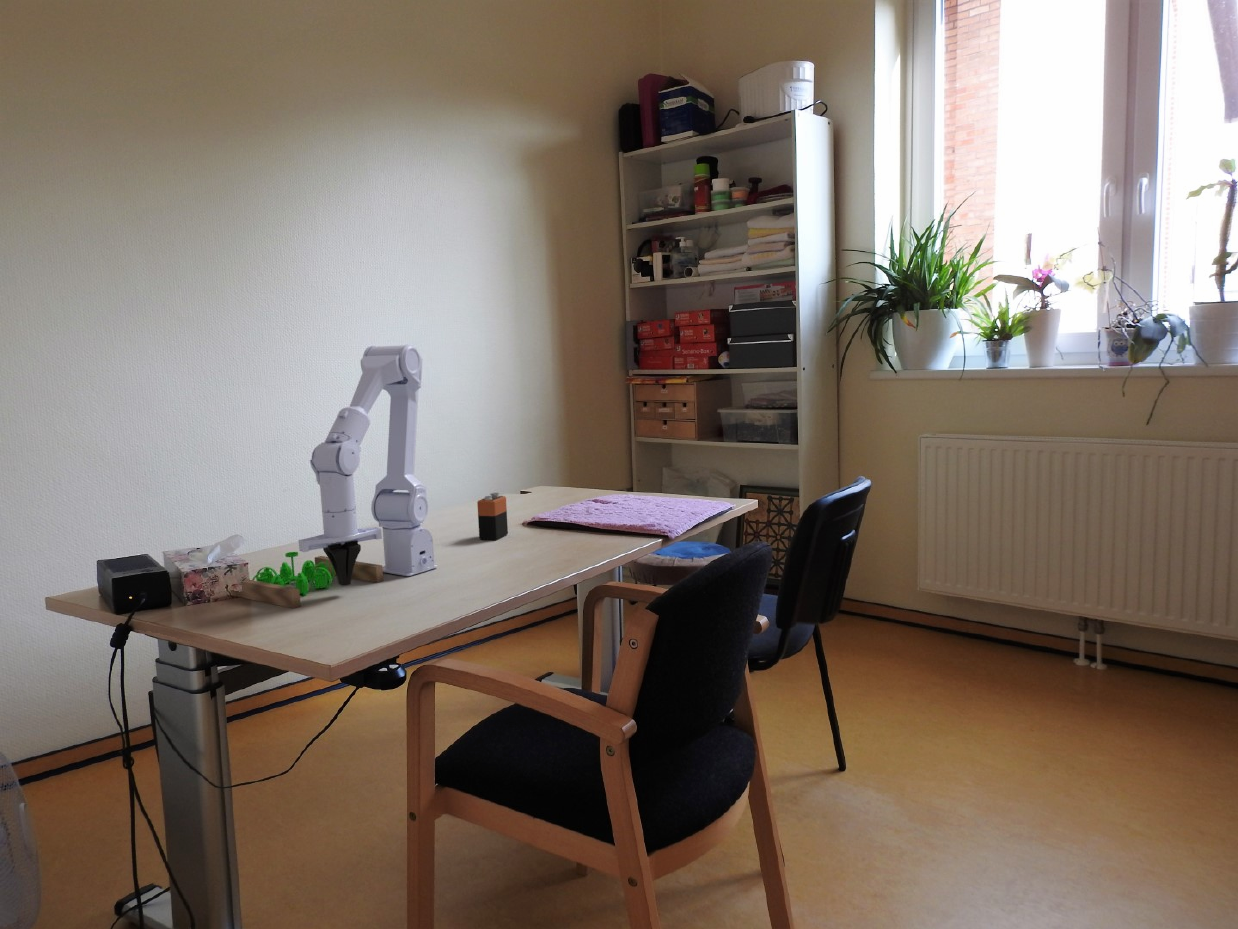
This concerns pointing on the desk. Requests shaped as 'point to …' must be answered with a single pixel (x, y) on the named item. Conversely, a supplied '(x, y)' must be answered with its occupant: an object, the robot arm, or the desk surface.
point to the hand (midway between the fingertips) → (344, 584)
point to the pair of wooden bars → (291, 595)
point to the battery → (492, 517)
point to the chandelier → (302, 579)
